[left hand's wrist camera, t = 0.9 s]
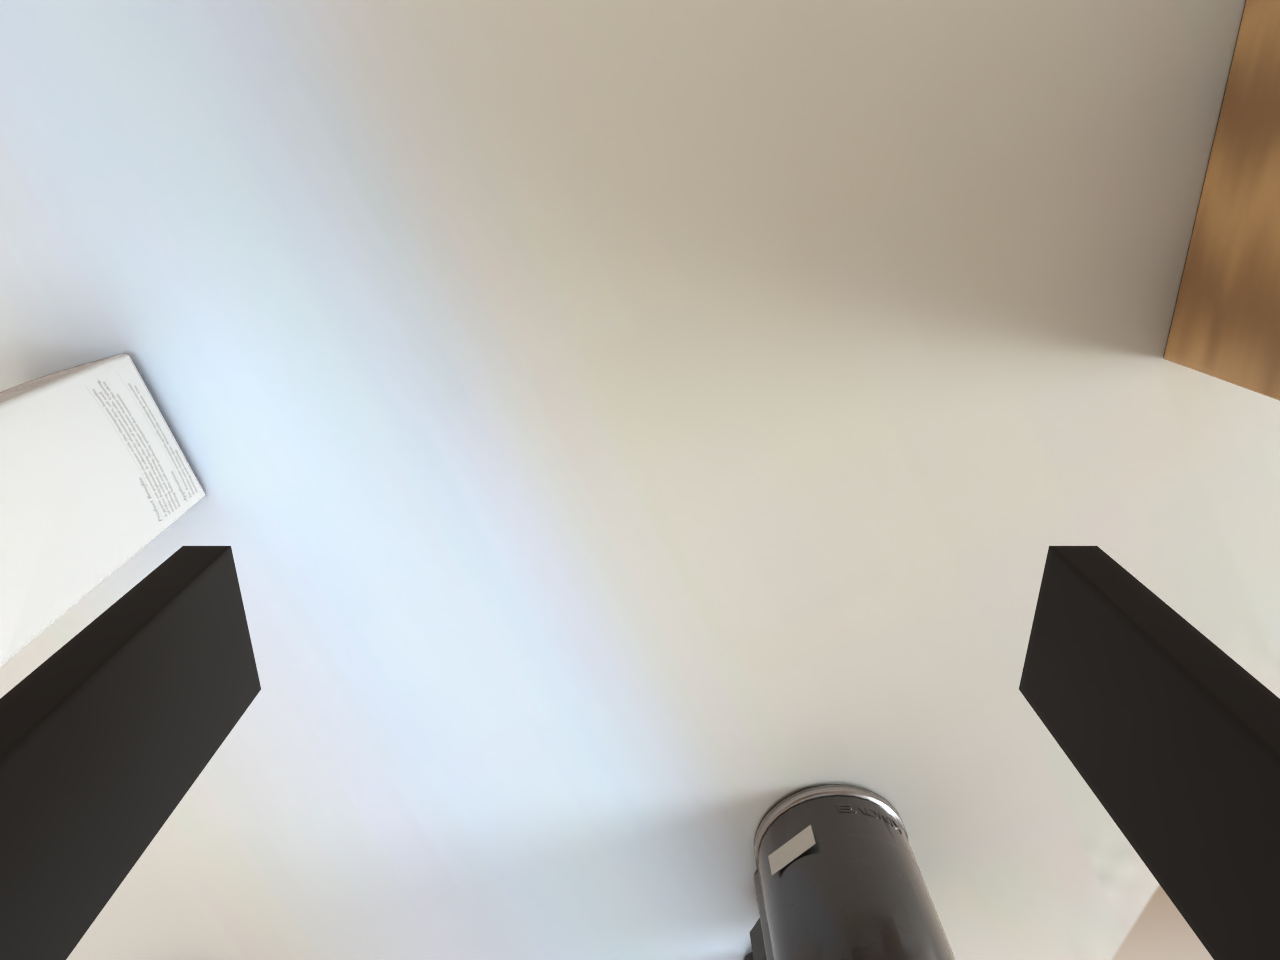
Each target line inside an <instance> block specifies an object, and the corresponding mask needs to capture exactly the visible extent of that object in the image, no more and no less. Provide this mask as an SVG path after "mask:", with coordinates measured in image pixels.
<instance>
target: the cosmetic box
mask: <svg viewBox="0 0 1280 960" xmlns="http://www.w3.org/2000/svg"><path fill="white" fill-rule="evenodd" d="M204 496H205V493H204V491H203V489H202V488H201V486H200V484H199V482H198V480H197V479H196V477H195V475H194V473H193V471H192V469H191V468H190V466H189V464H188V462H187V460H186V458H185V456H184V455H183V453H182V451H181V449H180V447H179V445H178V444H177V442H176V440H175V438H174V436H173V434H172V433H171V431H170V429H169V427H168V425H167V423H166V422H165V420H164V418H163V416H162V414H161V412H160V411H159V409H158V407H157V405H156V403H155V401H154V400H153V398H152V396H151V394H150V392H149V391H148V389H147V387H146V385H145V383H144V381H143V380H142V378H141V376H140V374H139V372H138V371H137V369H136V367H135V365H134V363H133V362H132V360H131V358H130V356H129V355H127V354H119V355H115V356H112V357H108V358H105V359H101V360H98V361H94V362H91V363H87V364H84V365H80V366H77V367H73V368H70V369H67V370H63V371H60V372H57V373H54V374H50V375H47V376H44V377H41V378H38V379H35V380H32V381H29V382H26V383H23V384H21V385H18V386H15V387H12V388H10V389H7V390H4V391H2V392H0V667H1V666H2V665H3V664H4V663H5V662H6V661H8V660H9V659H10V658H11V657H12V656H14V655H15V654H16V653H17V652H18V651H20V650H21V649H22V648H23V647H24V646H25V645H27V644H28V643H29V642H30V641H32V640H33V639H34V638H35V637H36V636H38V635H39V634H40V633H41V632H42V631H44V630H45V629H46V628H47V627H48V626H50V625H51V624H52V623H53V622H54V621H56V620H57V619H58V618H59V617H60V616H62V615H63V614H64V613H65V612H66V611H68V610H69V609H70V608H71V607H72V606H74V605H75V604H76V603H77V602H78V601H79V600H81V599H82V598H83V597H84V596H86V595H87V594H88V593H89V592H91V591H92V590H93V589H94V588H95V587H97V586H98V585H99V584H100V583H101V582H102V581H104V580H105V579H106V578H107V577H108V576H110V575H111V574H112V573H113V572H114V571H116V570H117V569H118V568H119V567H120V566H122V565H123V564H124V563H125V562H127V561H128V560H129V559H130V558H131V557H133V556H134V555H135V554H136V553H137V552H139V551H140V550H141V549H142V548H143V547H145V546H146V545H147V544H148V543H149V542H151V541H152V540H153V539H154V538H156V537H157V536H158V535H159V534H160V533H162V532H163V531H164V530H165V529H166V528H168V527H169V526H170V525H171V524H172V523H173V522H175V521H176V520H177V519H178V518H179V517H181V516H182V515H183V514H184V513H185V512H187V511H188V510H189V509H190V508H191V507H193V506H194V505H195V504H196V503H197V502H198V501H200V500H201V499H202V498H203V497H204Z"/></svg>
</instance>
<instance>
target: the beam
mask: <svg viewBox="0 0 1280 960" xmlns="http://www.w3.org/2000/svg"><path fill="white" fill-rule="evenodd" d="M1164 359H1166V360H1169V361H1172V362H1175V363H1177V364H1180V365H1183V366H1186V367H1188V368H1191V369H1194V370H1197V371H1199V372H1202V373H1205V374H1208V375H1211V376H1213V377H1216V378H1219V379H1222V380H1224V381H1227V382H1230V383H1233V384H1236V385H1238V386H1241V387H1244V388H1247V389H1249V390H1252V391H1255V392H1258V393H1260V394H1263V395H1266V396H1269V397H1272V398H1274V399H1277V400H1280V0H1246V4H1245V9H1244V13H1243V17H1242V22H1241V26H1240V30H1239V35H1238V39H1237V43H1236V48H1235V52H1234V56H1233V61H1232V65H1231V69H1230V74H1229V78H1228V82H1227V87H1226V91H1225V95H1224V100H1223V104H1222V108H1221V113H1220V117H1219V121H1218V126H1217V130H1216V134H1215V139H1214V143H1213V147H1212V152H1211V156H1210V160H1209V165H1208V169H1207V173H1206V177H1205V182H1204V186H1203V190H1202V195H1201V199H1200V203H1199V208H1198V212H1197V216H1196V221H1195V225H1194V229H1193V234H1192V238H1191V242H1190V247H1189V251H1188V255H1187V260H1186V264H1185V268H1184V273H1183V277H1182V281H1181V286H1180V290H1179V294H1178V299H1177V303H1176V307H1175V312H1174V316H1173V320H1172V325H1171V329H1170V333H1169V338H1168V342H1167V346H1166V351H1165V355H1164Z"/></svg>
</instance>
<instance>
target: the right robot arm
mask: <svg viewBox="0 0 1280 960" xmlns="http://www.w3.org/2000/svg"><path fill="white" fill-rule="evenodd" d="M754 852H755V859H756V864H757V869H758V871H757V873H756V874H755V876H754V882H755V889H756V895H757V901H758V907H759V914H760V918H759V920H758V921H757V923H756V924H755V926H754V927H753V929H752V930H751V931H750V937H751V944H752V951H753V952H751V953H749V954H748V955H747V956H746V958H745V960H955V958H954V955H953V953H952V950H951V948H950V945H949V943H948V940H947V938H946V935H945V932H944V930H943V927H942V925H941V922H940V920H939V917H938V915H937V912H936V910H935V907H934V905H933V902H932V900H931V897H930V895H929V892H928V890H927V887H926V885H925V882H924V880H923V877H922V875H921V872H920V869H919V867H918V865H917V862H916V860H915V857H914V855H913V852H912V850H911V847H910V845H909V842H908V836H907V833H906V830H905V827H904V825H903V822H902V820H901V818H900V816H899V814H898V813H897V811H896V810H895V809H894V807H893V806H892V805H891V804H890V803H889V802H887V801H886V800H885V799H883V798H882V797H880V796H879V795H877V794H875V793H873V792H871V791H868V790H866V789H863V788H859V787H855V786H849V785H823V786H817V787H812V788H809V789H805V790H802V791H800V792H797V793H795V794H793V795H791V796H789V797H787V798H786V799H784V800H783V801H781V802H780V803H778V804H777V805H776V806H775V807H774V808H773V809H771V810H770V812H769V813H768V814H767V815H766V816H765V818H764V819H763V820H762V822H761V824H760V826H759V828H758V830H757V833H756V836H755V842H754Z"/></svg>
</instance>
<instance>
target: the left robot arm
mask: <svg viewBox="0 0 1280 960" xmlns="http://www.w3.org/2000/svg"><path fill="white" fill-rule="evenodd" d="M260 690H261V687H260V682H259V677H258V673H257V668H256V663H255V658H254V654H253V649H252V644H251V639H250V635H249V630H248V625H247V621H246V616H245V611H244V606H243V602H242V597H241V592H240V587H239V583H238V578H237V573H236V568H235V564H234V559H233V554H232V550H231V546H182V547H181V548H180V549H179V550H178V551H177V552H175V553H174V554H173V555H172V556H171V557H169V558H168V559H167V560H166V561H165V562H163V563H162V564H161V565H160V566H159V567H157V568H156V569H155V570H154V571H153V572H151V573H150V574H149V575H148V576H147V577H145V578H144V579H143V580H142V581H141V582H139V583H138V584H137V585H136V586H135V587H133V588H132V589H131V590H130V591H129V592H128V593H126V594H125V595H124V596H123V597H122V598H120V599H119V600H118V601H117V602H116V603H114V604H113V605H112V606H111V607H110V608H108V609H107V610H106V611H105V612H104V613H102V614H101V615H100V616H99V617H98V618H96V619H95V620H94V621H93V622H92V623H90V624H89V625H88V626H87V627H86V628H84V629H83V630H82V631H81V632H80V633H79V634H77V635H76V636H75V637H74V638H73V639H71V640H70V641H69V642H68V643H67V644H65V645H64V646H63V647H62V648H61V649H59V650H58V651H57V652H56V653H55V654H53V655H52V656H51V657H50V658H49V659H47V660H46V661H45V662H44V663H43V664H41V665H40V666H39V667H38V668H37V669H35V670H34V671H33V672H32V673H31V674H30V675H28V676H27V677H26V678H25V679H24V680H22V681H21V682H20V683H19V684H18V685H16V686H15V687H14V688H13V689H12V690H10V691H9V692H8V693H7V694H6V695H4V696H3V697H2V698H1V699H0V960H66V959H67V957H68V956H69V955H70V953H71V952H72V951H73V949H74V948H75V946H76V945H77V944H78V942H79V941H80V939H81V938H82V937H83V935H84V934H85V932H86V931H87V930H88V928H89V927H90V926H91V924H92V923H93V921H94V920H95V919H96V917H97V916H98V914H99V913H100V912H101V910H102V909H103V908H104V906H105V905H106V903H107V902H108V901H109V899H110V898H111V896H112V895H113V894H114V892H115V891H116V890H117V888H118V887H119V885H120V884H121V883H122V881H123V880H124V878H125V877H126V876H127V874H128V873H129V871H130V870H131V869H132V867H133V866H134V865H135V863H136V862H137V860H138V859H139V858H140V856H141V855H142V853H143V852H144V851H145V849H146V848H147V847H148V845H149V844H150V842H151V841H152V840H153V838H154V837H155V835H156V834H157V833H158V831H159V830H160V828H161V827H162V826H163V824H164V823H165V822H166V820H167V819H168V817H169V816H170V815H171V813H172V812H173V810H174V809H175V808H176V806H177V805H178V804H179V802H180V801H181V799H182V798H183V797H184V795H185V794H186V792H187V791H188V790H189V788H190V787H191V786H192V784H193V783H194V781H195V780H196V779H197V777H198V776H199V774H200V773H201V772H202V770H203V769H204V767H205V766H206V765H207V763H208V762H209V761H210V759H211V758H212V756H213V755H214V754H215V752H216V751H217V749H218V748H219V747H220V745H221V744H222V743H223V741H224V740H225V738H226V737H227V736H228V734H229V733H230V731H231V730H232V729H233V727H234V726H235V725H236V723H237V722H238V720H239V719H240V718H241V716H242V715H243V713H244V712H245V711H246V709H247V708H248V706H249V705H250V704H251V702H252V701H253V700H254V698H255V697H256V695H257V694H258V693H259V691H260ZM1019 690H1020V691H1021V693H1022V694H1023V695H1024V697H1025V698H1026V700H1027V701H1028V702H1029V704H1030V705H1031V706H1032V708H1033V709H1034V711H1035V712H1036V713H1037V715H1038V716H1039V718H1040V719H1041V720H1042V722H1043V723H1044V725H1045V726H1046V727H1047V729H1048V730H1049V731H1050V733H1051V734H1052V736H1053V737H1054V738H1055V740H1056V741H1057V743H1058V744H1059V745H1060V747H1061V748H1062V749H1063V751H1064V752H1065V754H1066V755H1067V756H1068V758H1069V759H1070V761H1071V762H1072V763H1073V765H1074V766H1075V767H1076V769H1077V770H1078V772H1079V773H1080V774H1081V776H1082V777H1083V779H1084V780H1085V781H1086V783H1087V784H1088V786H1089V787H1090V788H1091V790H1092V791H1093V792H1094V794H1095V795H1096V797H1097V798H1098V799H1099V801H1100V802H1101V804H1102V805H1103V806H1104V808H1105V809H1106V810H1107V812H1108V813H1109V815H1110V816H1111V817H1112V819H1113V820H1114V822H1115V823H1116V824H1117V826H1118V827H1119V828H1120V830H1121V831H1122V833H1123V834H1124V835H1125V837H1126V838H1127V840H1128V841H1129V842H1130V844H1131V845H1132V847H1133V848H1134V849H1135V851H1136V852H1137V853H1138V855H1139V856H1140V858H1141V859H1142V860H1143V862H1144V863H1145V865H1146V866H1147V867H1148V869H1149V870H1150V871H1151V873H1152V874H1153V876H1154V877H1155V878H1156V880H1157V881H1158V883H1159V884H1160V885H1161V887H1162V888H1163V890H1164V891H1165V892H1166V894H1167V895H1168V896H1169V898H1170V899H1171V901H1172V902H1173V903H1174V905H1175V906H1176V907H1177V909H1178V910H1179V912H1180V913H1181V914H1182V916H1183V917H1184V919H1185V920H1186V921H1187V923H1188V924H1189V926H1190V927H1191V928H1192V930H1193V931H1194V932H1195V934H1196V935H1197V937H1198V938H1199V939H1200V941H1201V942H1202V944H1203V945H1204V946H1205V948H1206V949H1207V950H1208V952H1209V953H1210V955H1211V956H1212V957H1213V959H1214V960H1280V699H1279V698H1278V697H1277V696H1276V695H1274V694H1273V693H1272V692H1271V691H1270V690H1268V689H1267V688H1266V687H1265V686H1264V685H1262V684H1261V683H1260V682H1259V681H1258V680H1256V679H1255V678H1254V677H1253V676H1252V675H1250V674H1249V673H1248V672H1247V671H1246V670H1245V669H1243V668H1242V667H1241V666H1240V665H1239V664H1237V663H1236V662H1235V661H1234V660H1233V659H1231V658H1230V657H1229V656H1228V655H1227V654H1225V653H1224V652H1223V651H1222V650H1221V649H1219V648H1218V647H1217V646H1216V645H1215V644H1213V643H1212V642H1211V641H1210V640H1209V639H1207V638H1206V637H1205V636H1204V635H1203V634H1201V633H1200V632H1199V631H1198V630H1197V629H1196V628H1194V627H1193V626H1192V625H1191V624H1190V623H1188V622H1187V621H1186V620H1185V619H1184V618H1182V617H1181V616H1180V615H1179V614H1178V613H1176V612H1175V611H1174V610H1173V609H1172V608H1170V607H1169V606H1168V605H1167V604H1166V603H1164V602H1163V601H1162V600H1161V599H1160V598H1158V597H1157V596H1156V595H1155V594H1154V593H1152V592H1151V591H1150V590H1149V589H1148V588H1147V587H1145V586H1144V585H1143V584H1142V583H1141V582H1139V581H1138V580H1137V579H1136V578H1135V577H1133V576H1132V575H1131V574H1130V573H1129V572H1127V571H1126V570H1125V569H1124V568H1123V567H1121V566H1120V565H1119V564H1118V563H1117V562H1115V561H1114V560H1113V559H1112V558H1111V557H1109V556H1108V555H1107V554H1106V553H1105V552H1103V551H1102V550H1101V549H1100V548H1099V547H1098V546H1049V550H1048V554H1047V559H1046V564H1045V568H1044V573H1043V578H1042V583H1041V587H1040V592H1039V597H1038V602H1037V606H1036V611H1035V616H1034V621H1033V625H1032V630H1031V635H1030V639H1029V644H1028V649H1027V654H1026V658H1025V663H1024V668H1023V673H1022V677H1021V682H1020V687H1019Z"/></svg>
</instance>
